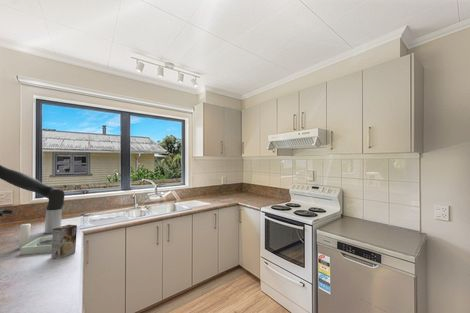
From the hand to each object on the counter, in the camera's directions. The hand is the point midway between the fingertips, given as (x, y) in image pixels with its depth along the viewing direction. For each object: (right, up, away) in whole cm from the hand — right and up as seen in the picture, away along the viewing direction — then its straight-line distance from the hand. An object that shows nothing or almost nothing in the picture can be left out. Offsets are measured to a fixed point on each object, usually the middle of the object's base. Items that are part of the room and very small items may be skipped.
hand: (7, 213), depth 123 cm
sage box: (+21, -22, +3) cm, 31 cm away
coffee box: (+40, -22, -7) cm, 47 cm away
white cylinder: (+8, -22, +2) cm, 23 cm away
